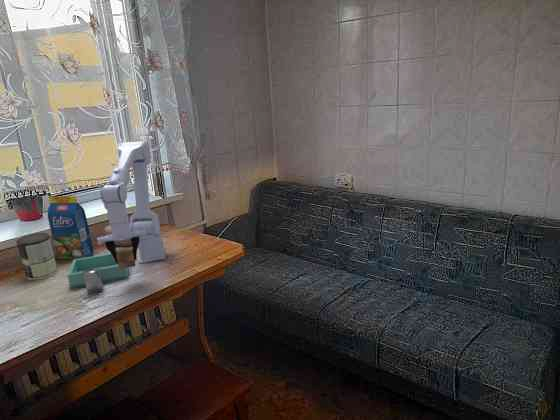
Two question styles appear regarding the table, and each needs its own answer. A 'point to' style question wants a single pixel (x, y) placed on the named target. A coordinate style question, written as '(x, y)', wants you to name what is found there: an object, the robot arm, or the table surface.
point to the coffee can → (37, 256)
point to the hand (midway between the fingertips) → (126, 260)
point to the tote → (102, 262)
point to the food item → (118, 243)
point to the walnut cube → (125, 257)
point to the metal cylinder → (93, 280)
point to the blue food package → (69, 228)
